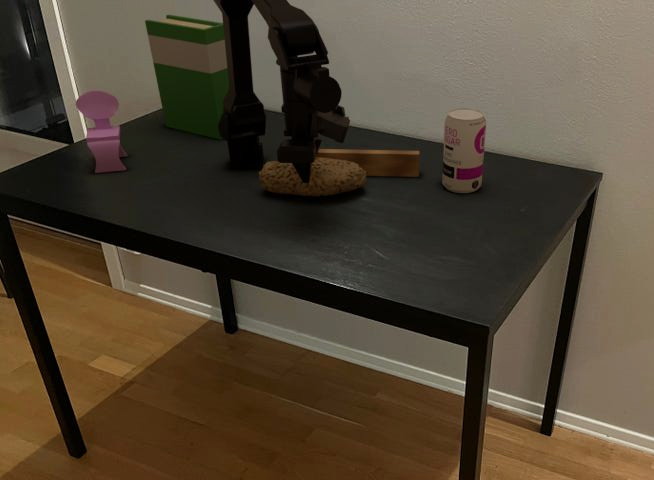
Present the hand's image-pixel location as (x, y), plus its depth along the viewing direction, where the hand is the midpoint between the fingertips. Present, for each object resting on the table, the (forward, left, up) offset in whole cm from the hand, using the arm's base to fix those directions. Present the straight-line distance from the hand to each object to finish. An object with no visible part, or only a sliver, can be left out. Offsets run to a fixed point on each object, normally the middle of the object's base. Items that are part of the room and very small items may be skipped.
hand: (306, 182), depth 132 cm
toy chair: (-46, +23, -7) cm, 52 cm away
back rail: (+8, +20, -6) cm, 23 cm away
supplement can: (+30, +15, -7) cm, 34 cm away
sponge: (0, +11, -7) cm, 12 cm away
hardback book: (-32, +47, -7) cm, 57 cm away
